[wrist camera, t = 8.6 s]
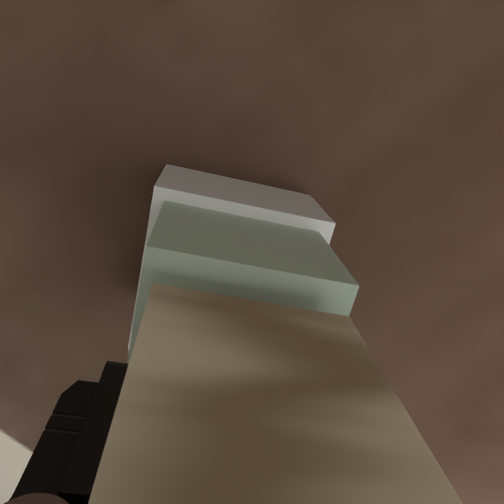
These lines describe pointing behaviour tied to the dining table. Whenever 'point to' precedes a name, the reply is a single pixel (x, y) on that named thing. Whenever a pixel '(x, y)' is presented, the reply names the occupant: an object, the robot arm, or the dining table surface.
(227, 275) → the sage block
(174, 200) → the grey base block
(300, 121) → the dining table surface
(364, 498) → the beige metal block
